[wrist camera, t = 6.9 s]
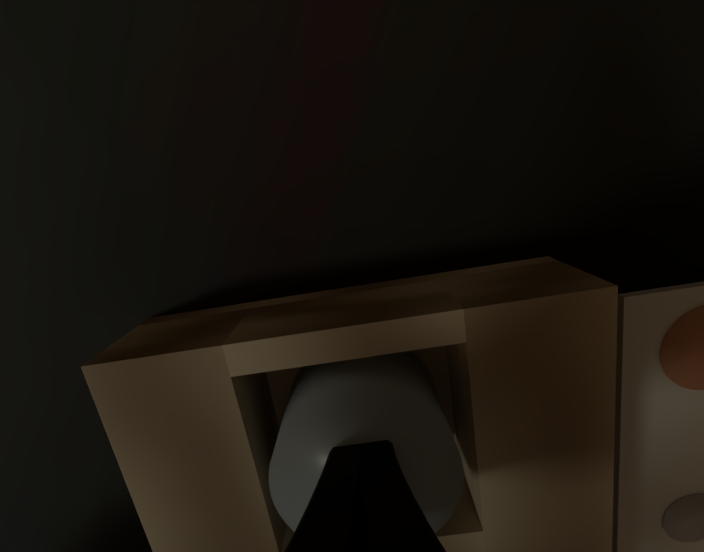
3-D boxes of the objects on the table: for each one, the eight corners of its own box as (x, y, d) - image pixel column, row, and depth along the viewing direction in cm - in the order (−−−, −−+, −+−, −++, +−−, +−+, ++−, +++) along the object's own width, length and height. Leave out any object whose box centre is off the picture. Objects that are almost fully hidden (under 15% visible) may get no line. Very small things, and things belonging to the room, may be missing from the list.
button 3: (305, 473, 12) (290, 567, 9) (276, 349, 11) (248, 412, 8) (442, 455, 12) (471, 545, 9) (427, 326, 11) (454, 383, 8)
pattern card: (608, 679, 16) (614, 692, 15) (616, 294, 11) (626, 298, 11) (733, 666, 15) (742, 679, 15) (791, 268, 11) (807, 271, 11)
